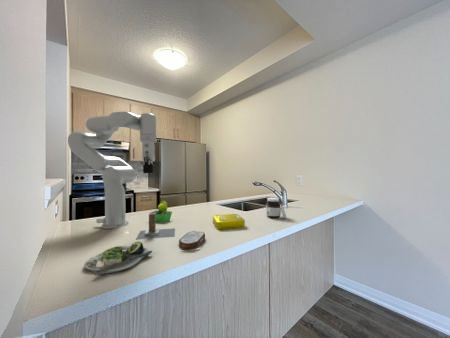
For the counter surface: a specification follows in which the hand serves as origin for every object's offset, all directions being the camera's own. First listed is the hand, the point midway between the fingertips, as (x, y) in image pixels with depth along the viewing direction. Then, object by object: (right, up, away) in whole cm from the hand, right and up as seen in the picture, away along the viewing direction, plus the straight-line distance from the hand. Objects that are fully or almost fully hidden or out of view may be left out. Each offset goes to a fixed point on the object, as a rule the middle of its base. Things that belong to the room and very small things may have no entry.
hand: (148, 172), depth 99 cm
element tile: (+40, -29, +8) cm, 50 cm away
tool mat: (+7, -28, -8) cm, 30 cm away
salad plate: (+3, -29, -33) cm, 44 cm away
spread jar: (+71, -28, +23) cm, 80 cm away
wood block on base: (+5, -28, -9) cm, 30 cm away
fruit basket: (+2, -28, +15) cm, 32 cm away
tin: (+21, -27, -17) cm, 38 cm away
